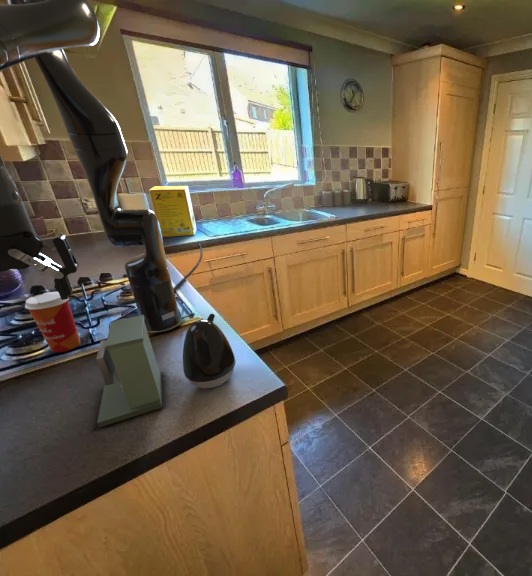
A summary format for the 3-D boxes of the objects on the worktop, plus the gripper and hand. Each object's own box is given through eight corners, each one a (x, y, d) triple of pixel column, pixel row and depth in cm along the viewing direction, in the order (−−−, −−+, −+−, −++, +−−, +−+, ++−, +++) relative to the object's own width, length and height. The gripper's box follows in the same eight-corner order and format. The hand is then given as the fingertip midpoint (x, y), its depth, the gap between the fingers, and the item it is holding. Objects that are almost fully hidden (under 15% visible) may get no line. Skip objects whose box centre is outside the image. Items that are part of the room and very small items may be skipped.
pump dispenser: (244, 365, 79) (235, 309, 73) (227, 395, 70) (214, 334, 64) (201, 365, 79) (188, 309, 73) (178, 395, 69) (160, 334, 63)
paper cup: (38, 350, 82) (15, 300, 76) (74, 335, 89) (54, 288, 83) (58, 358, 80) (35, 306, 74) (93, 341, 86) (74, 293, 81)
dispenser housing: (105, 389, 70) (80, 325, 64) (161, 374, 75) (143, 313, 69) (98, 427, 61) (68, 356, 55) (163, 407, 66) (142, 340, 60)
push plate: (110, 365, 67) (100, 340, 64) (116, 364, 67) (107, 339, 65) (106, 385, 61) (96, 359, 59) (113, 383, 62) (103, 357, 60)
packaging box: (165, 230, 192) (154, 186, 182) (196, 228, 198) (187, 185, 188) (160, 237, 179) (148, 189, 169) (194, 235, 185) (184, 189, 175)
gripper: (56, 194, 52) (90, 286, 59) (-83, 200, 45) (-27, 305, 52) (46, 201, 47) (85, 303, 53) (-115, 209, 39) (-47, 326, 46)
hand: (30, 303), depth 52 cm, fingers open, 8 cm apart
